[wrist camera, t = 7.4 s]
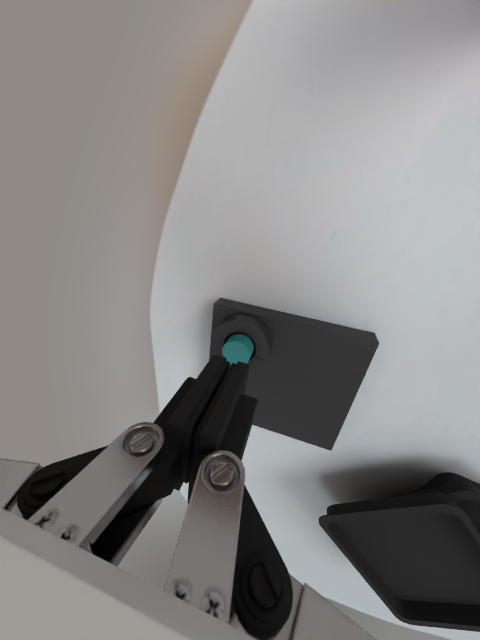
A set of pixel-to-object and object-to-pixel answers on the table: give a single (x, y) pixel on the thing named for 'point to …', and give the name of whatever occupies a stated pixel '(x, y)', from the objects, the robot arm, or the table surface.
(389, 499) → the tray
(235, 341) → the button
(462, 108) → the table surface
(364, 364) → the scale
